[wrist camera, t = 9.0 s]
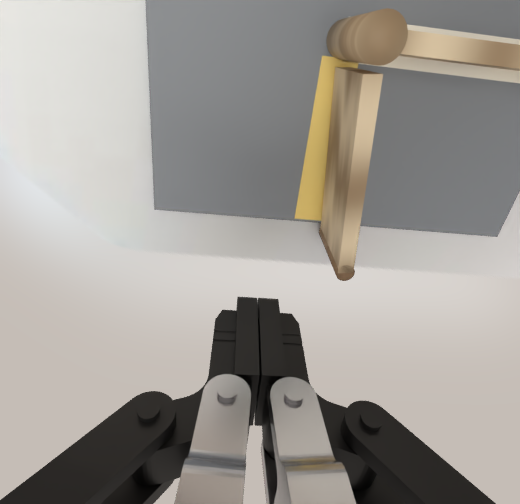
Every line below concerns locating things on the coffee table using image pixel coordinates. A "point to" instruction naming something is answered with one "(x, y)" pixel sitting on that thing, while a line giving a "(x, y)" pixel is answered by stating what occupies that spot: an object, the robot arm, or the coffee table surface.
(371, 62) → the wooden toy fence
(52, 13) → the coffee table surface
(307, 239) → the coffee table surface
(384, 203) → the card
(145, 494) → the robot arm
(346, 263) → the fence panel
